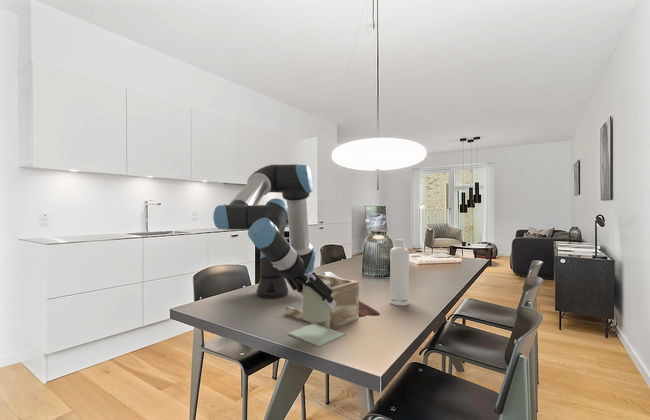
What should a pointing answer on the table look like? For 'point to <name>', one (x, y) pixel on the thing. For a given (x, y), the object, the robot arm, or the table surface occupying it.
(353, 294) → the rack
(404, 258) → the bottle
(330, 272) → the spoon rest
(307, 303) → the can
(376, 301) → the table surface
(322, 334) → the mat
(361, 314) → the wooden tablet
